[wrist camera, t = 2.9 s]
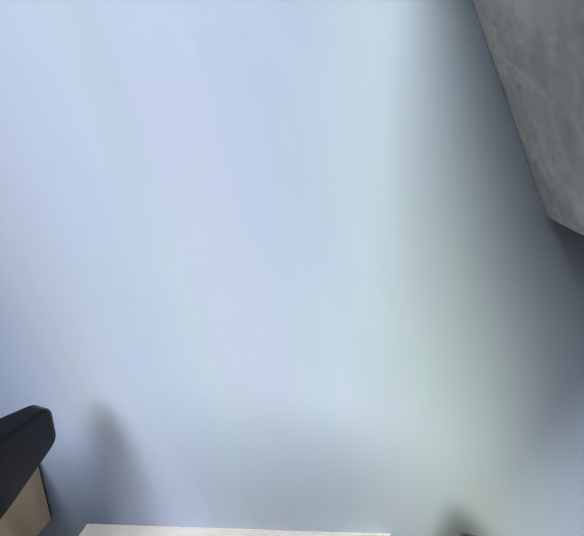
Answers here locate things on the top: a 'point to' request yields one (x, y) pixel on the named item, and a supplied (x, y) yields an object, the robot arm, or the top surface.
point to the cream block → (200, 531)
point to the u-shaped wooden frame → (27, 510)
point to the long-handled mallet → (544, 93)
